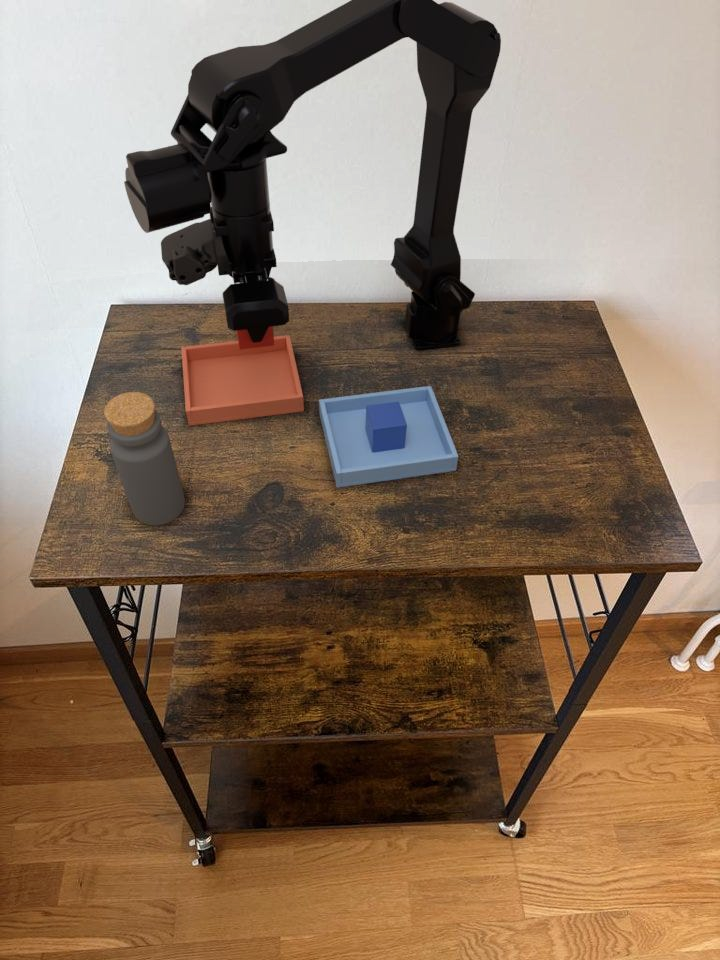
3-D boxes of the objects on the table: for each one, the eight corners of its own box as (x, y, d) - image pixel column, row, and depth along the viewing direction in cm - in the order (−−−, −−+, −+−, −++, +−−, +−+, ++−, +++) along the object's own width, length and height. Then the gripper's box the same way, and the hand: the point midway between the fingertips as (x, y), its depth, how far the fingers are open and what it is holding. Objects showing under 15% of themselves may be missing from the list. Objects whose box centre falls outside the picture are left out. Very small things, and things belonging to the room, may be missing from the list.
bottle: (174, 530, 79) (146, 434, 68) (123, 521, 80) (87, 424, 68) (193, 490, 83) (169, 392, 72) (144, 481, 84) (113, 383, 72)
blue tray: (429, 400, 93) (431, 385, 91) (456, 470, 86) (458, 456, 84) (319, 414, 91) (318, 399, 89) (336, 487, 84) (336, 473, 82)
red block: (269, 324, 87) (267, 296, 84) (274, 345, 84) (272, 317, 81) (235, 328, 86) (232, 299, 83) (239, 349, 83) (235, 321, 80)
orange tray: (290, 349, 99) (289, 334, 97) (304, 411, 92) (303, 396, 90) (184, 361, 97) (181, 346, 95) (189, 426, 89) (185, 411, 88)
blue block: (397, 424, 90) (399, 401, 87) (404, 448, 87) (407, 424, 84) (365, 429, 89) (366, 405, 86) (372, 452, 86) (373, 429, 83)
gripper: (154, 164, 77) (179, 290, 89) (161, 263, 65) (189, 393, 77) (259, 156, 79) (270, 280, 91) (285, 251, 67) (293, 379, 79)
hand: (254, 329), depth 84 cm, fingers closed on red block, 4 cm apart
